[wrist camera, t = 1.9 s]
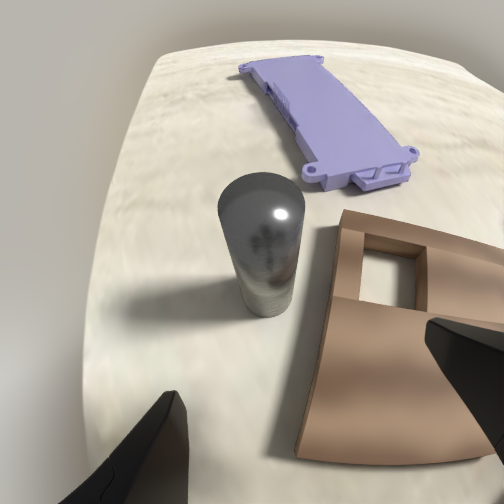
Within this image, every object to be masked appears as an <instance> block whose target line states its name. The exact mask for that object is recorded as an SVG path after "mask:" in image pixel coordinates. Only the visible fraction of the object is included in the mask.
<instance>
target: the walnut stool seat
mask: <svg viewBox="0 0 504 504" xmlns="http://www.w3.org/2000/svg"><path fill="white" fill-rule="evenodd" d="M363 249H369V250H374V251H379V252H383V253H388V254H393V255H398V256H402V257H407V258H412V259H416V296H415V310H411V309H405V308H399V307H393V306H387V305H381V304H376V303H370V302H365V301H359V293H360V284H361V273H362V262H363ZM434 317H439V318H443V319H448V320H452V321H456V322H460V323H465V324H469V325H473V326H478V327H482V328H487V329H491V330H496V331H500V332H504V250H503V249H500V248H497V247H494V246H490V245H487V244H484V243H480V242H477V241H473V240H470V239H466V238H463V237H459V236H456V235H452V234H448V233H445V232H441V231H437V230H433V229H429V228H425V227H421V226H417V225H413V224H409V223H405V222H400V221H396V220H392V219H387V218H383V217H379V216H374V215H369V214H365V213H360V212H355V211H350V210H345V209H344V210H343V213H342V216H341V219H340V222H339V227H338V235H337V244H336V252H335V259H334V266H333V273H332V280H331V287H330V293H329V299H328V305H327V311H326V317H325V322H324V328H323V333H322V338H321V343H320V348H319V353H318V358H317V362H316V367H315V372H314V376H313V380H312V385H311V389H310V393H309V397H308V401H307V405H306V409H305V413H304V417H303V421H302V425H301V428H300V432H299V435H298V439H297V442H296V446H295V449H294V452H295V454H296V457H298V458H304V459H311V460H319V461H328V462H338V463H350V464H369V465H409V464H427V463H439V462H448V461H456V460H463V459H470V458H475V457H481V456H486V455H491V454H496V452H495V450H494V449H495V448H493V446H492V445H491V443H490V442H489V440H488V438H487V437H486V435H485V434H484V432H483V431H482V429H481V427H480V426H479V424H478V423H477V421H476V420H475V418H474V417H473V415H472V414H471V412H470V411H469V409H468V408H467V407H466V405H465V404H464V402H463V401H462V399H461V398H460V397H459V395H458V394H457V392H456V391H455V389H454V388H453V387H452V385H451V384H450V383H449V381H448V380H447V378H446V377H445V376H444V374H443V373H442V371H441V369H440V368H439V366H438V364H437V363H436V361H435V359H434V358H433V356H432V354H431V353H430V351H429V349H428V348H427V346H426V344H425V340H424V337H425V329H426V323H427V321H428V320H430V319H432V318H434Z"/></svg>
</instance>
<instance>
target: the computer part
mask: <svg viewBox="0 0 504 504" xmlns="http://www.w3.org/2000/svg"><path fill="white" fill-rule="evenodd" d="M323 62H324V57H322V56H319V55H315V56H310V55H302V56H291V57H281V58H273V59H265V60H258V61H252V62H249V63H246V64H241V65H239V66H238V67H239V72H240V73H249V72H250V74H251V75H252V77H253V78H254V79H255V81H256V82H257V84H258V85H259V87H260V88H261V89H262V91H263V92H264V94H265V95H266V94H269V96H270V97H271V98H272V100H273V103H274V104H275V106H276V107H277V109H278V110H279V112H280V113H281V115H282V116H283V118H284V119H285V120H286V122H287V123H288V125H289V126H291V128H292V130H293V131H294V133H295V134H296V143H297V145H298V146H299V148H300V150H301V151H302V153H303V155H304V156H305V158H306V160H307V161H308V164H305V165H304V166H303V168H302V179H303V180H304V181H305V182H307V183H316V182H320V184H321V186H322V187H323V189H324V191H325V192H327V191H332V190H336V189H340V188H344V187H347V185H348V183H350V182H354V183H355V184H356V185H358V186H359V187H360V188H361V189H362V190H363V191H368V190H372V189H377V188H381V187H385V186H390V185H394V184H398V183H403V182H407V181H408V180H409V178H410V176H411V173H410V170H409V166H410V163H414V162H416V161H417V159H418V157H419V155H420V153H419V151H418V150H417V149H416V148H415V147H413V146H405V147H401V146H400V145H399V144H398V142H397V141H396V140H395V139H394V138H393V136H392V135H391V134H390V133H389V132H388V131H387V130H386V128H385V127H384V126H383V125H382V124H381V123H380V122H379V121H378V120H377V118H376V117H375V116H374V115H373V114H372V113H371V112H370V111H369V110H368V109H367V108H366V107H365V106H364V105H363V104H362V103H361V102H360V101H359V100H358V99H357V98H356V97H355V96H354V95H353V94H352V93H351V92H350V91H349V90H348V89H347V88H346V87H345V86H344V85H343V84H342V83H341V82H340V81H339V80H337V79H336V78H335V77H334V76H333V75H332V74H331V73H330V72H329V71H327V70H326V69H325V68H324V67H323V66H322V65H321V64H323Z"/></svg>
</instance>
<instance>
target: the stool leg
mask: <svg viewBox="0 0 504 504" xmlns="http://www.w3.org/2000/svg"><path fill="white" fill-rule="evenodd" d="M304 213H305V200H304V197H303V194H302V192H301V191H300V189H299V188H298V187H297V186H296V185H295V184H294V183H293V182H292V181H291V180H289V179H287V178H286V177H283V176H281V175H278V174H274V173H267V172H258V173H252V174H248V175H244V176H242V177H240V178H238V179H236V180H234V181H233V182H232V183H230V184H229V185H228V186H227V187H226V188H225V189H224V191H223V192H222V194H221V196H220V198H219V201H218V216H219V219H220V222H221V226H222V229H223V233H224V236H225V239H226V243H227V246H228V249H229V253H230V256H231V259H232V263H233V266H234V269H235V272H236V276H237V279H238V282H239V286H240V289H241V292H242V295H243V298H244V302H245V304H246V306H247V307H248V309H249V310H250V311H251V312H252V313H254V314H256V315H258V316H261V317H274V316H277V315H279V314H281V313H283V312H284V311H285V310H286V309H287V308H288V306H289V305H290V302H291V299H292V294H293V288H294V281H295V275H296V269H297V262H298V256H299V249H300V242H301V235H302V228H303V221H304Z"/></svg>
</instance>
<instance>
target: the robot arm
mask: <svg viewBox="0 0 504 504" xmlns="http://www.w3.org/2000/svg"><path fill="white" fill-rule="evenodd" d="M424 340H425V344H426V346H427V348H428V349H429V351H430V353H431V354H432V356H433V358H434V359H435V361H436V363H437V364H438V366H439V368H440V369H441V371H442V373H443V374H444V376H445V377H446V378H447V380H448V381H449V383H450V384H451V385H452V387H453V388H454V389H455V391H456V392H457V394H458V395H459V397H460V398H461V399H462V401H463V402H464V404H465V405H466V407H467V408H468V409H469V411H470V412H471V414H472V415H473V417H474V418H475V420H476V421H477V423H478V424H479V426H480V427H481V429H482V431H483V432H484V434H485V435H486V437H487V438H488V440H489V442H490V443H491V445H492V446H493V448H495V449H494V450H495V452H496V453H497V455H498V457H499V458H500V460H501V462H502V463H503V465H504V332H500V331H496V330H491V329H487V328H482V327H478V326H473V325H469V324H465V323H460V322H456V321H452V320H448V319H443V318H439V317H434V318H432V319H430V320H428V321H427V323H426V329H425V337H424ZM188 472H189V438H188V425H187V411H186V407H185V405H184V403H183V401H182V399H181V397H180V395H179V393H178V392H177V391H175V390H172V391H166V392H164V393H163V394H162V395H161V396H160V397H159V399H158V400H157V401H156V402H155V403H154V405H153V406H152V407H151V408H150V409H149V410H148V412H147V413H146V414H145V415H144V416H143V417H142V419H141V420H140V421H139V422H138V423H137V424H136V426H135V427H134V428H133V429H132V430H131V431H130V433H129V434H128V435H127V436H126V437H125V438H124V439H123V441H122V442H121V443H120V444H119V445H118V446H117V447H116V449H115V450H114V451H113V452H112V453H111V454H110V455H109V457H108V458H107V459H106V460H105V461H104V462H103V463H102V464H101V465H100V466H99V468H98V469H97V470H96V471H95V472H94V473H93V474H92V475H91V476H90V477H89V478H88V479H87V480H85V481H84V482H83V483H82V484H81V485H80V486H79V487H78V488H76V489H75V490H74V491H73V492H72V493H71V494H69V495H68V496H67V497H66V498H65V499H64V500H62V501H61V502H60V503H58V504H188Z"/></svg>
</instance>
